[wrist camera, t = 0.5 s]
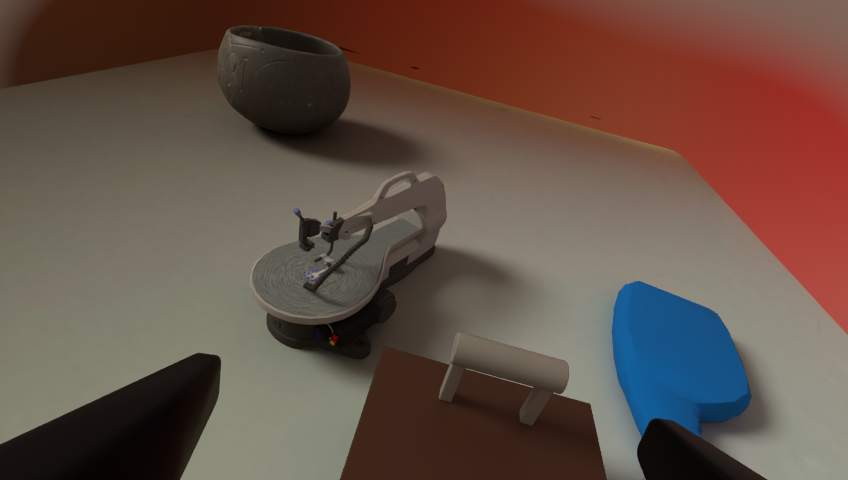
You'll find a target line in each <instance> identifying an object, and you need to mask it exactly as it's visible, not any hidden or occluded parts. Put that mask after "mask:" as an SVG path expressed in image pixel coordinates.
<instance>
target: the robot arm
mask: <svg viewBox="0 0 848 480" xmlns="http://www.w3.org/2000/svg"><path fill="white" fill-rule="evenodd" d="M220 371H221V360H220V358H219V356H217V355H210V354H203V353H196V354H194V355H192V356H189V357H187V358H185V359H183V360H181V361H179V362H177V363H174V364H172V365H170V366H168V367H166V368H164V369H161V370H159V371H157V372H155V373H153V374H151V375H149V376H146V377H144V378H142V379H140V380H138V381H136V382H134V383H131V384H129V385H127V386H125V387H123V388H121V389H119V390H116V391H114V392H112V393H110V394H108V395H106V396H103V397H101V398H99V399H97V400H95V401H93V402H91V403H88V404H86V405H84V406H82V407H80V408H78V409H76V410H73V411H71V412H69V413H67V414H65V415H63V416H60V417H58V418H56V419H54V420H52V421H50V422H48V423H45V424H43V425H41V426H39V427H37V428H35V429H33V430H30V431H28V432H26V433H24V434H22V435H20V436H17V437H15V438H13V439H11V440H9V441H7V442H5V443H2V444H0V480H180V478H181V476H182V474H183V472H184V470H185V468H186V466H187V464H188V462H189V460H190V458H191V455H192V453H193V451H194V449H195V447H196V445H197V443H198V441H199V439H200V436H201V434H202V432H203V430H204V428H205V426H206V424H207V422H208V419H209V417H210V415H211V413H212V411H213V409H214V407H215V404H216V402H217V399H218V395H219V386H220ZM637 456H638V460H639V463H640V466H641V468H642V471H643V473H644V476H645V478H646V480H767V479H765V478H764V477H762V476H761V475H759V474H757V473H756V472H754V471H753V470H751V469H749V468H748V467H746V466H745V465H743V464H741V463H740V462H738V461H737V460H735V459H734V458H732V457H730V456H729V455H727V454H726V453H724V452H722V451H721V450H719V449H718V448H716V447H714V446H713V445H711V444H710V443H708V442H707V441H705V440H703V439H702V438H700V437H699V436H697V435H695V434H694V433H692V432H691V431H689V430H688V429H686V428H684V427H683V426H681V425H680V424H678V423H676V422H675V421H672V420H668V419H661V418H654V419H652V420H651V421H649V423H648V425H647V427H646V430H645V432H644V434H643V436H642V439H641V441H640V443H639V445H638V449H637Z"/></svg>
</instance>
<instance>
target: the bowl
mask: <svg viewBox="0 0 848 480" xmlns="http://www.w3.org/2000/svg"><path fill="white" fill-rule="evenodd" d="M217 74H218V80H219V83H220V86H221V89H222V91H223V93H224V95H225V97H226V99H227V101H228V102H229V103H230V105H231V106H232V107H233V108H234V109H235V110H236V111H237V112H239V113H240V114H241V115H243V116H244V117H245V118H247V119H248V120H249V121H251V122H253V123H254V124H256V125H258V126H261V127H263V128H266V129H268V130H271V131H275V132H280V133H286V134H304V133H309V132H313V131H317V130H320V129H322V128H325V127H326V126H328V125H330V124H331V123H333V122H334V121H335V120H336V119H338V118H339V117H340V115H341V114H342V113H343V111H344V110H345V108H346V106H347V103H348V100H349V96H350V87H351V83H350V74H349V68H348V63H347V60H346V57H345V55H344V53H343V51H342V50H341V49H340V48H339V47H337V46H336V45H334V44H332V43H330V42H328V41H326V40H323V39H321V38H318V37H315V36H311V35H309V34H305V33H300V32H296V31H291V30H286V29H281V28H275V27H267V26H261V27H260V28H258V27H257V26H237V27H232V28H230V29H228V30H227V32H226V33H225V36H224V39H223V41H222V43H221V46H220V50H219V54H218V62H217Z"/></svg>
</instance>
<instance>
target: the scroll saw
mask: <svg viewBox="0 0 848 480" xmlns="http://www.w3.org/2000/svg"><path fill="white" fill-rule="evenodd" d="M403 179H405V182H404V183H402V184H400V185H398V186H396V187H394V188H393V189H391V190H389V191H388V189H389V188H390V186H392V185H393V184H395V183H397V182H398V181H400V180H403ZM293 212H294V213H295V214H296V215H297V216H299V218H300V226H299V240H296V241H292V242H289V243H286V244H283V245H280V246H277V247H275V248H274V249H272V250H270V251H268V252H266V253H265V254H264V255H263V256H261V257H260V258H259V259H258V260H257V261H256V262H255V264H254V266H253V268H252V270H251V274H250V289H251V292H252V295H253V298H254V300H255V301H256V302H257V303H258V304H259V305H260V307H261V308H262V309H263V310H265V311H267V312H268V313H267V327H268V330H269V331H270V333H271V334H272V335H273V336H274V337H275V338H276V339H277V340H278V341H280V342H281V343H283V344H285V345H287V346H291V347H294V348H305V347H322V348H325V349H328V350H331V351H334V352H337V353H340V354H343V355H346V356H349V357H353V358H357V359H364V358H365V357H367V356H368V355H369V352H370V348H371V345H370V341H369V339H368V337H367V336H366V334H365V333H364V331H365V330H367V329H368V328H369V327H371V326H372V325H373V324H378V323H384V322H386V321H387V320H388V319H389V318H390V317H391V315H392V314H393V312H394V310H395V308H396V301H395V296H394V294H393V293H391V292H390V291H388V290H387V289H385V288H386V287H388V286H390V285H392V284H394V283H396V282H398V281H399V280H401V279H402V278H404V277H405V276H407V275H408V274H409V273H410V272H411V271H413V270H414V269H415V268H416V267H417V266H418V265H419V264H420V263H422V262H423V261H425V260H426V259H428V258H429V257H430V256H432V254H433V253H434V250H435V242H436V240H437V237H438V234H439V231H440V228H441V227H442V226H443V224H444V223H445V221H446V217H447V212H446V197H445V189H444V185H443V183H442V181H441V180H440V179H439V178H438V177H437V176H435V175H433V174H431V173H429V172H424V173H422V174H420V175H418V176H416V175H415V174H414V173H412V172H410V171H405V172H402V173H400V174H398V175H395V176H393V177H391V178H389V179H388V180H386V181H385V182H384V183H383V184H382V185H381V186H380V187H379V189H378V190H377V192H376V194H375V195H374V197H373V198H372V199H371V200H370V201H368V202H366V203H365V204H363V205H361V206H360V207H358V208H356V209H354V210H353V211H351V212H349V213H347V214H345V215H344V216H342V217H340V218H338V219H336V217H337V212H334V214H333V221H326V222H325V223H324V224H323V225H321V222H319V221H318V220H316V219H309V218H306V219H304V218H302V216H301V213H300V209H299V208H295V209H294V211H293ZM397 215H398V219H397V220H395V221H393V222H391V223H389V224H387V225H385V226H383V227H381V228H379V229H377V230H375V231H373V232H372V229H373V225H375V224H377V223H379V222H382V221H384V220H387V219H389V218H392V217H394V216H397ZM365 228H366V231H365V233H364V234H360V235H351V234H353V233H355V232H358V231H360V230H363V229H365ZM320 231H322V234H321V237H313V236H315V235H318V234H319V232H320ZM308 237H309V238H308Z"/></svg>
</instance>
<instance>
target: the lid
mask: <svg viewBox="0 0 848 480" xmlns="http://www.w3.org/2000/svg"><path fill="white" fill-rule="evenodd" d="M465 368H468V369H471V370H475V371H479V372H482V373H486V374H489V375H493V376H496V377H500V378H504V379H507V380H511V381H514V382H518V383H522V384H525V385H529V386H532V387H533V388H531V387H528V386H524V385H520V384H517V383H513V382H510V381H506V380H502V379H499V378H495V377H492V376H488V375H485V374H481V373H477V372H474V371H470V370H467V369H465ZM568 378H569V367H568V364H567V362H566V361H564V360H560V359H557V358H553V357H550V356H546V355H542V354H539V353H535V352H532V351H528V350H524V349H521V348H517V347H513V346H510V345H506V344H503V343H499V342H495V341H492V340H488V339H485V338H481V337H477V336H474V335H470V334H466V333H463V332H457V334H456V336H455V339H454V342H453V346H452V351H451V356H450V365H449V364H445V363H441V362H438V361H434V360H431V359H427V358H423V357H420V356H416V355H413V354H409V353H405V352H402V351H398V350H395V349H391V348H388V347H383V350H382V353H381V356H380V359H379V362H378V365H377V368H376V371H375V374H374V377H373V380H372V383H371V386H370V390H369V393H368V396H367V399H366V402H365V405H364V408H363V411H362V414H361V417H360V420H359V423H358V426H357V429H356V432H355V435H354V438H353V441H352V444H351V448H350V451H349V454H348V457H347V460H346V463H345V466H344V469H343V472H342V475H341V478H340V480H607V479H606V474H605V469H604V465H603V460H602V456H601V451H600V446H599V442H598V437H597V433H596V428H595V423H594V419H593V414H592V410H591V405H590V404H589V403H585V402H581V401H578V400H574V399H571V398H567V397H564V396H560V395H556V394H553V392H554V393H558V394H561V393H563V392H564V390H565V388H566V386H567V383H568Z"/></svg>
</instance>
